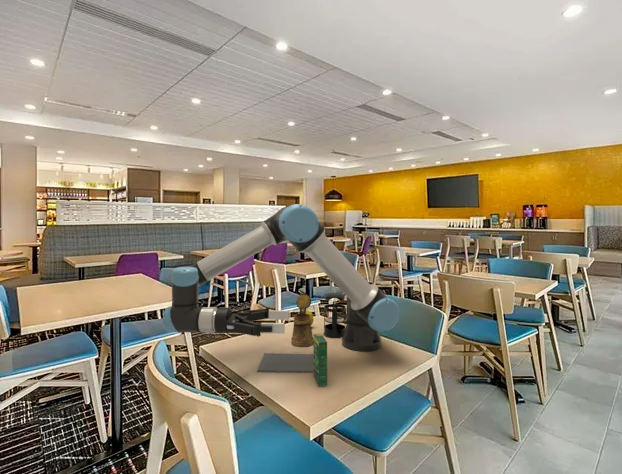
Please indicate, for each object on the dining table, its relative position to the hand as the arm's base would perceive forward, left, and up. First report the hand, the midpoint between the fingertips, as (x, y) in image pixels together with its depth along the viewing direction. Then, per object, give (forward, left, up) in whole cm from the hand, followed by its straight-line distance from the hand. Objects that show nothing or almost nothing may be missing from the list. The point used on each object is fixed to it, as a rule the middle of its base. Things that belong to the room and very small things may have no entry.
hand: (287, 321), depth 104 cm
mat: (+1, -12, -18) cm, 22 cm away
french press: (-16, -43, -18) cm, 49 cm away
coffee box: (-10, 0, -18) cm, 21 cm away
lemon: (-4, -51, -18) cm, 54 cm away
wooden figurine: (-3, -34, -18) cm, 39 cm away
